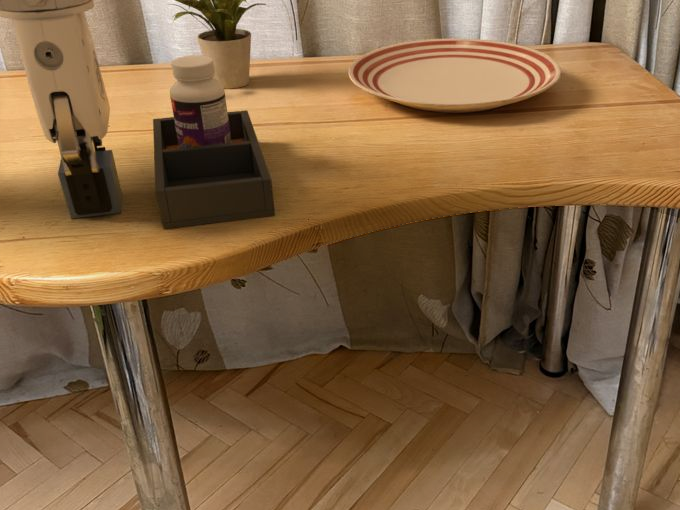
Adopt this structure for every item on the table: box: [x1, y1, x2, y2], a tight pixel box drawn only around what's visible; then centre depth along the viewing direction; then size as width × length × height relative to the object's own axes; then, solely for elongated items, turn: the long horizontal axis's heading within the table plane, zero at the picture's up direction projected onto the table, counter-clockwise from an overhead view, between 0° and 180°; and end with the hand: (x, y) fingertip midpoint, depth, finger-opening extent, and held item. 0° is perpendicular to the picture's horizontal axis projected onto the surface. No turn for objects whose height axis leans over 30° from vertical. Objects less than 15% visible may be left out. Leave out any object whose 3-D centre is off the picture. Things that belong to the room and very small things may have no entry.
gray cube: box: [57, 149, 123, 220], centre depth 69 cm, size 4×4×4 cm
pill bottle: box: [169, 54, 231, 148], centre depth 75 cm, size 5×5×10 cm
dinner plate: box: [348, 38, 562, 114], centre depth 97 cm, size 28×27×3 cm
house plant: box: [167, 0, 269, 90], centre depth 98 cm, size 14×14×16 cm
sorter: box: [152, 110, 276, 230], centre depth 74 cm, size 10×19×4 cm, turn 15°
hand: (95, 198), depth 70 cm, fingers closed on gray cube, 4 cm apart
